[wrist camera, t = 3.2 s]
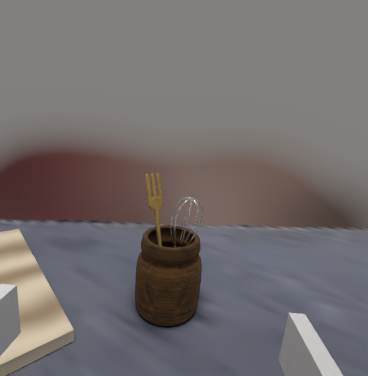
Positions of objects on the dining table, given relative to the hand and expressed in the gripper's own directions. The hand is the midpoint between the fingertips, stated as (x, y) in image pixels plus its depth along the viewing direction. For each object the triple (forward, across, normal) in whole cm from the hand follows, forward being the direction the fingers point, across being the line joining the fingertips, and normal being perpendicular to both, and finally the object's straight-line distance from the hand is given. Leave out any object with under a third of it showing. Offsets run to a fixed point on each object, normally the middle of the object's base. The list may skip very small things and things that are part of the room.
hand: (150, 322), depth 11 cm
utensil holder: (+10, 0, -7) cm, 12 cm away
